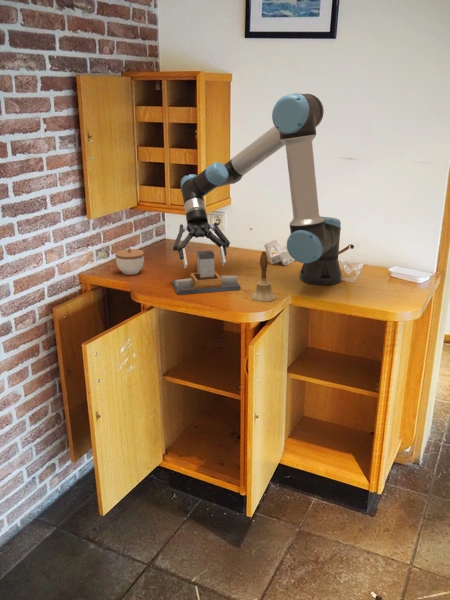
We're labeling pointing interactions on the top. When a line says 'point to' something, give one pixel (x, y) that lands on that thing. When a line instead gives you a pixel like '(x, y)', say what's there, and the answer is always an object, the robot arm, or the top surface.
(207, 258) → the block
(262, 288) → the hand bell
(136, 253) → the lidded jar
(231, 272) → the top surface
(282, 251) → the mounting bracket
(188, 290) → the base
